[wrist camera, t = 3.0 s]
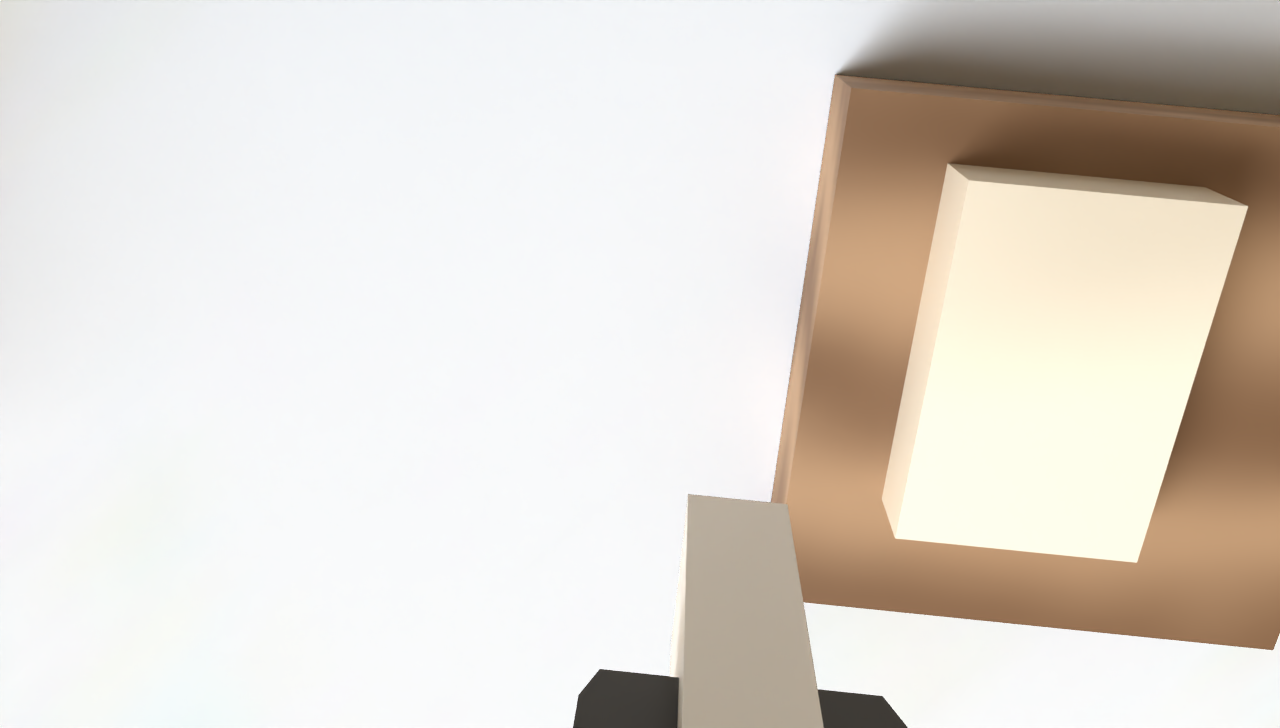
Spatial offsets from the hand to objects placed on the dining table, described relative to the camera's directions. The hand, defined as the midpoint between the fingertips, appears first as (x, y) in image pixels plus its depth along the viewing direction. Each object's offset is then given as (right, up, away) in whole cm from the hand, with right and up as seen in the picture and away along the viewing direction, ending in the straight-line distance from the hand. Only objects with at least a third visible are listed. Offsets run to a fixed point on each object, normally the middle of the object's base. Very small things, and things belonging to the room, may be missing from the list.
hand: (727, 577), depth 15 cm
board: (+10, +4, +13) cm, 17 cm away
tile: (+8, +3, +10) cm, 13 cm away
